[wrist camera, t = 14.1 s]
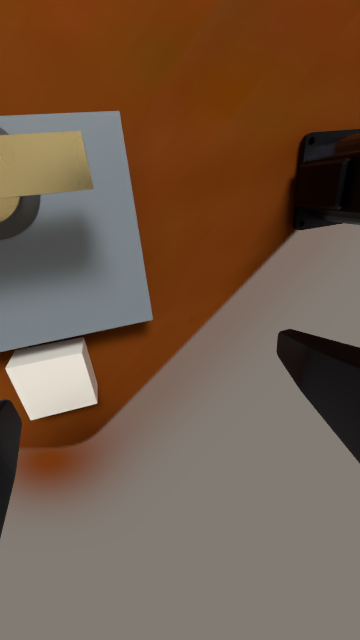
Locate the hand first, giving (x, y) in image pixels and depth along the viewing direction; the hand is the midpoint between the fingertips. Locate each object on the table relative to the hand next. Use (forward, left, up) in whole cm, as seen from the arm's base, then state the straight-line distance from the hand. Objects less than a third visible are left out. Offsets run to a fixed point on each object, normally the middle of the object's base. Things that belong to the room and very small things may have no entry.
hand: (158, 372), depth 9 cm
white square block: (+7, +7, -13) cm, 16 cm away
